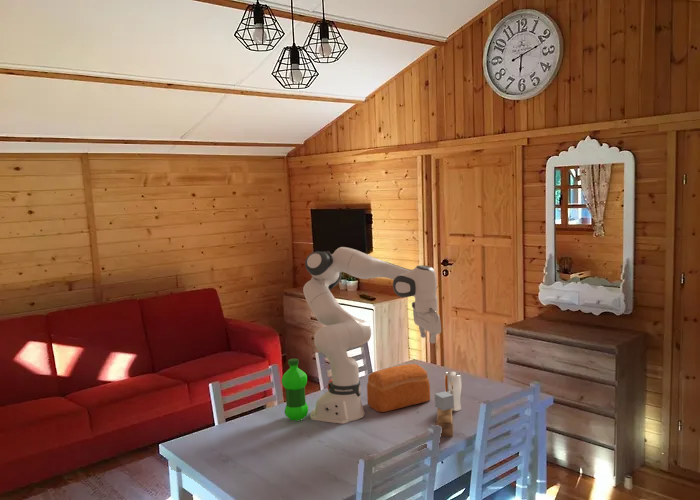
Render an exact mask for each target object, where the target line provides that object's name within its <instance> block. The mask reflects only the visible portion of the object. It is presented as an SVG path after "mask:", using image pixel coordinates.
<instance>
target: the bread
mask: <svg viewBox="0 0 700 500" xmlns="http://www.w3.org/2000/svg"><path fill="white" fill-rule="evenodd" d="M366 396H367V399H366V400H367V405H368V406H369V408H371V409H373V410H375V411H376V412H379V413H386V412H390V411H395V410H399V409H402V408H406V407H410V406H414V405H418V404H423V403H427V402H428V401H430V400H431V385H430V380H429V377H428V372H427V371H426V370H425V368H423V367H422V366H420V365H419V364H415V363H409V364H403V365H395V366H391V367H388V368H386V367H385V368H383V369H380V370H377V371H373V372H372V373H370V374H368V377H367V384H366Z"/></svg>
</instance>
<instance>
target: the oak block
mask: <svg viewBox="0 0 700 500" xmlns="http://www.w3.org/2000/svg"><path fill="white" fill-rule="evenodd" d="M436 411H437V412H436V413H437V417H438V423H452V417H453V411H452V409H448V410H444V411H442V410H440V409H439V408H437V410H436Z"/></svg>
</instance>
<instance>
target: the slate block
mask: <svg viewBox="0 0 700 500" xmlns="http://www.w3.org/2000/svg"><path fill="white" fill-rule="evenodd" d="M434 405H435V406H434V407H435V408H437V409H438V408H439V409H440V410H442V411H444V410H448V409H452V408H454V395H452V394H450V393H448V392H446V391H445V390H444V391H441V392H437V393H434Z"/></svg>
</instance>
